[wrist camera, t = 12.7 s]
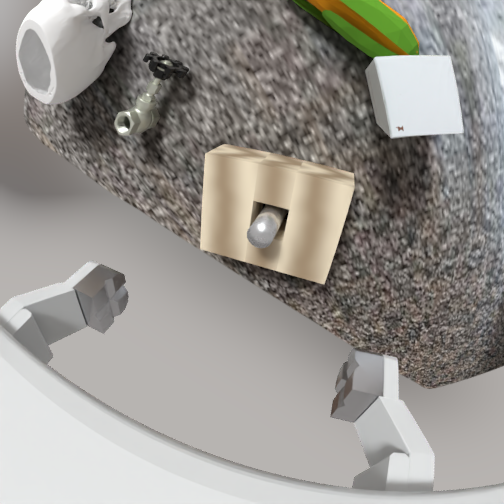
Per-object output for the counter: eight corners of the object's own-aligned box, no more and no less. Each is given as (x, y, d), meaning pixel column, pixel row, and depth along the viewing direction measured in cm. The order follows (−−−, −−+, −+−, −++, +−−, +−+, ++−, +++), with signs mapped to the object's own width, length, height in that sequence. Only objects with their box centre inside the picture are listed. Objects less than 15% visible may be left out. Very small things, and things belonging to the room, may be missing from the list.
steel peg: (291, 196, 41) (274, 228, 33) (288, 215, 42) (270, 251, 34) (270, 191, 41) (248, 221, 33) (267, 210, 43) (245, 244, 35)
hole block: (353, 173, 36) (354, 187, 31) (328, 260, 44) (324, 284, 39) (224, 144, 39) (205, 153, 35) (216, 230, 47) (200, 248, 42)
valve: (160, 138, 42) (197, 72, 35) (133, 148, 37) (172, 72, 30) (131, 117, 41) (164, 52, 34) (103, 124, 36) (136, 51, 29)
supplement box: (430, 120, 29) (465, 137, 19) (375, 124, 32) (388, 140, 22) (419, 64, 26) (452, 54, 16) (363, 68, 29) (371, 56, 19)
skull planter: (158, -29, 25) (41, 15, 17) (146, 69, 43) (63, 129, 35) (102, -36, 25) (1, 8, 16) (100, 49, 43) (23, 101, 34)
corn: (403, 77, 22) (243, -29, 20) (389, 82, 29) (260, -7, 27) (442, 35, 18) (283, -68, 16) (422, 46, 25) (293, -42, 23)
